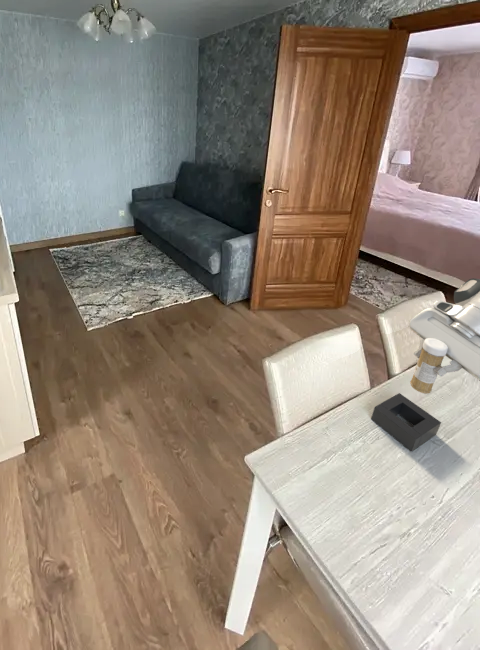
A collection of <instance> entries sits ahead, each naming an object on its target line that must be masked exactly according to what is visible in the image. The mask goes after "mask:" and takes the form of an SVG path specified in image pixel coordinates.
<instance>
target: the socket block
mask: <svg viewBox="0 0 480 650" xmlns="http://www.w3.org/2000/svg"><path fill="white" fill-rule="evenodd" d="M398 415H399V416H400V417H402V418H403V419H404V420H406V421H407V422H408V423H410V424H411V425H412V426H410V425H408V424H407V423H406V422H405V421H404V420H402V419H401V418H400V417H398ZM370 419H371V421H373V422H374V423H375V424H376V425H378V426H379V427H380V428H381V429H383V430H384V431H385V432H386V433H387V434H388V435H389V436H391V437H392V438H393V439H395V440H396V441H397V442H398V443H399V444H400V445H402V446H403V447H404V448H405V449H407V450H408V451H409V452H410V453H412V452H413V451H415V450H417V449H418V448H420V446H422V445H424V444H425V443H426V442H428V441H430V440H431V439H432V438H434V437H435V436H437V434H438V431H439V429H440V426H441V424H442V422H441V421H440V420H439V419H437V418H436V417H434V416H433V415H432V414H430V413H429V412H427V411H426V410H425V409H423V408H422V407H420V406H419V405H417V404H416V403H414V402H413V401H412V400H410V399H409V398H407V397H406V396H405V395H403V394H401V392H398V393H396V394H395V395H394V396H391V397H390V398H388V399H386V400H384V401H383V402H380V403H379V404H377V405H375V406H374V407H373V411H372V414H371V417H370Z"/></svg>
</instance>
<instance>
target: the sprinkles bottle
mask: <svg viewBox="0 0 480 650" xmlns="http://www.w3.org/2000/svg"><path fill="white" fill-rule="evenodd" d="M447 349H448V347H447V345H446V344H445V343H443V342H442V341H440V340H437V339H434V338H427V339H425V340H424V343H423V349H422V351H421V354H420V357H419V358H417V359H418V360H417V362H416V365H415V367H414V371H413V375H412V377H411V379H410V381H409V383H410V386H411V387H412V388H413V389H414V390H415V391H416V392H419V393H421V394H425V395H426V394H427V395H428V394H431V393H432V391H433V386H434V384H435V382H436V380H437V377H438V374H437V373H436V372H435V371H434V368H435V367H437V366H438V365H440V366H442V364H443V360H444V357H446V356H445V355H446V353H447Z"/></svg>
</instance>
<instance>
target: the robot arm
mask: <svg viewBox="0 0 480 650" xmlns="http://www.w3.org/2000/svg"><path fill="white" fill-rule="evenodd" d="M453 302H454V303H450V302H446V301H443V300H436V301H434V302H433V303H432V307H427V308H424V309H423V310H421V311H420V312H419V313H417V314H415V316H413V317H412V318H411V319H410V320H408V327H409V329H410V330H411V331H412V332H413V333H414V334H416V336H418V337H419V338H421V340H420V341H419V345H418V349H416V350H415V351H414V352H413V355H414V356H415V357H416V358H417V359H419V357H420V354H421V351H422V349H423V343H424V340H425V339H427V338H434V339H437V340H440V341H442V342H443V343H445V344H446V345H447V347H448V349H447V353H446V355H445V356H444V357H446V358H448V359H449V360H450V361H449V364H447V365H443V366H442V365H441V366H440V365H438V366H437V367H435V368H434V371H435V372H436V373H437V376H439V377H443V376H444V375H446V374H447V373H456V372H459V371H460V370H461V369H463V370H464V371H465V372H467V373H469V375H470V376H472V377H473V378H475V379H476V380H478V381H479V382H480V278H470V279H468V280H466V281H465V282H464V283H463V284H462V285H461V286H459V287H458V288H457V289H455V290H454V292H453Z"/></svg>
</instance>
